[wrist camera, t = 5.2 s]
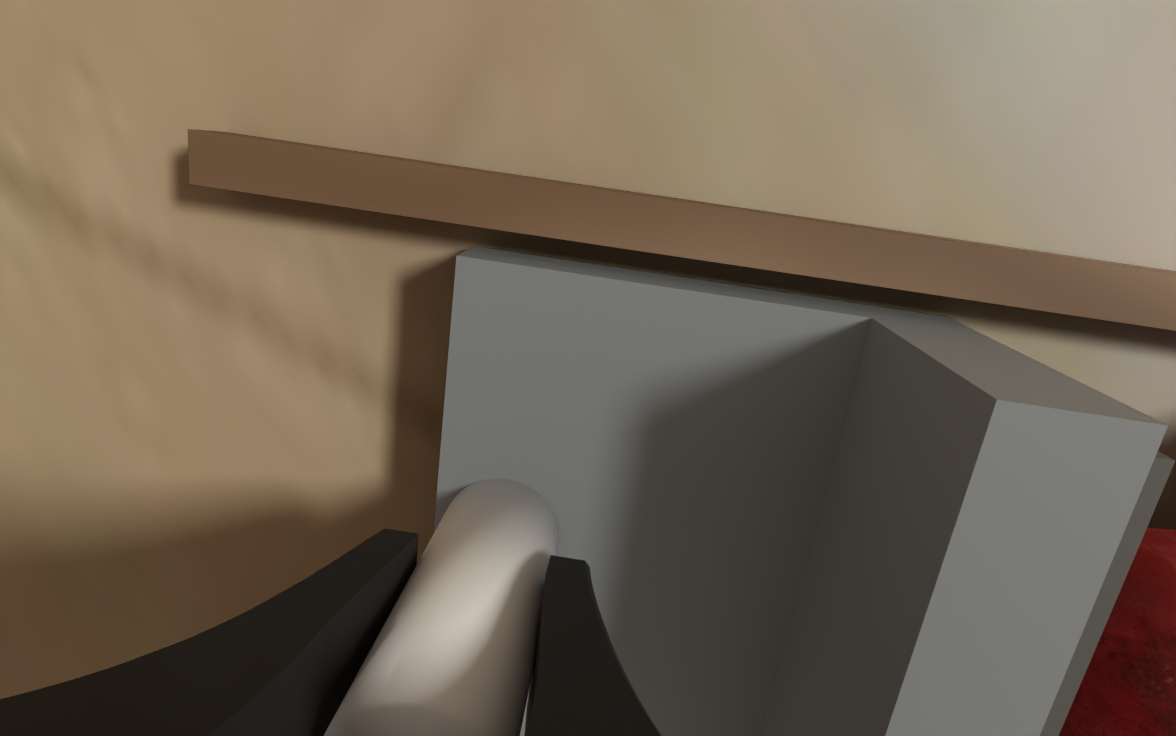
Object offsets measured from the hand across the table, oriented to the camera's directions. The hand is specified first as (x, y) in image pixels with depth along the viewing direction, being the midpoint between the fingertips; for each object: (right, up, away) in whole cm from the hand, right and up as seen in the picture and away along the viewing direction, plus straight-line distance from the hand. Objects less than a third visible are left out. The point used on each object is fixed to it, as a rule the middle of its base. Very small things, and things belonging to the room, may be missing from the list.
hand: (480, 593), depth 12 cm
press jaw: (+4, +1, +4) cm, 5 cm away
